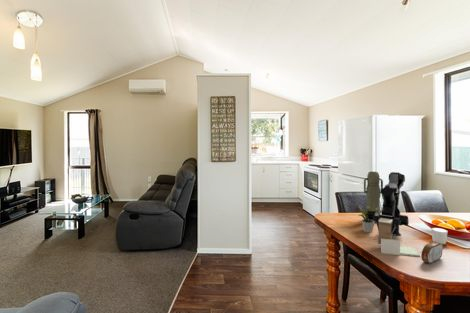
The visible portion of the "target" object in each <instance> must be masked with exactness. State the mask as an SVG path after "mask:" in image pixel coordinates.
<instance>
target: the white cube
mask: <svg viewBox="0 0 470 313" xmlns="http://www.w3.org/2000/svg"><path fill="white" fill-rule="evenodd" d="M431 237H432V238H431V239H432V242H434V241H436V242H439V243H441V244H442V245H446V243H447V240H448V239H447V237H448V230H446V229H444V228H440V227H432V228H431Z"/></svg>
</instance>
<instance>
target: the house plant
mask: <svg viewBox="0 0 470 313" xmlns="http://www.w3.org/2000/svg"><path fill="white" fill-rule="evenodd" d="M365 207H366V210H367V211H368V210H371V208H370V206H369V207H368V208H367V205H365ZM358 209H359V211H360V212H361V214H358V215H357V217H360V216H361V217H362V218H363V219H361V223H362V229H363V231H364V232H367V233H372V232H373V230H374V226H375V223H374V221H373V220H370V219H368V217H367V211H366V210H364V209H363V208H362V207H361V206H359V208H358ZM376 209H378V208H376ZM376 209H374V210H373V211H377V210H376Z"/></svg>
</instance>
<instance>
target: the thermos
mask: <svg viewBox="0 0 470 313" xmlns="http://www.w3.org/2000/svg"><path fill="white" fill-rule="evenodd" d="M366 175H367V176H366V178H364V179H363V192H364V193H365V195H366V206H367V208H368V207H369V206H370V208H371V210H370V211H373V210H374V209H376V208H378V209H376V210H377V211H375V212H376V213H378V214H381V213H382V212H381V209H380V206H381V204H380V203H381V201H380V198H381V195H382V194H381V190H382V189H383V188H384V180H383V179H382V178H380V173H379V172H378V171H368V173H367V174H366ZM366 182H367V183H366ZM367 208H366V210H365V211H367ZM379 219H380V218H379ZM373 221H374V220H373ZM375 223H376V222H375V221H374V224H375ZM376 224H377V223H376Z"/></svg>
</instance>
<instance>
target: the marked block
mask: <svg viewBox="0 0 470 313" xmlns="http://www.w3.org/2000/svg"><path fill="white" fill-rule="evenodd" d="M392 224H393V220H392V219H385V218H380V219H379V227H377V231H378V232H377V233H378V234H377V235H378V239H377V240H378V241H377V242H378V245H381V238H382V239H392V240H393V235H392V233H391V229H392Z"/></svg>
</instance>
